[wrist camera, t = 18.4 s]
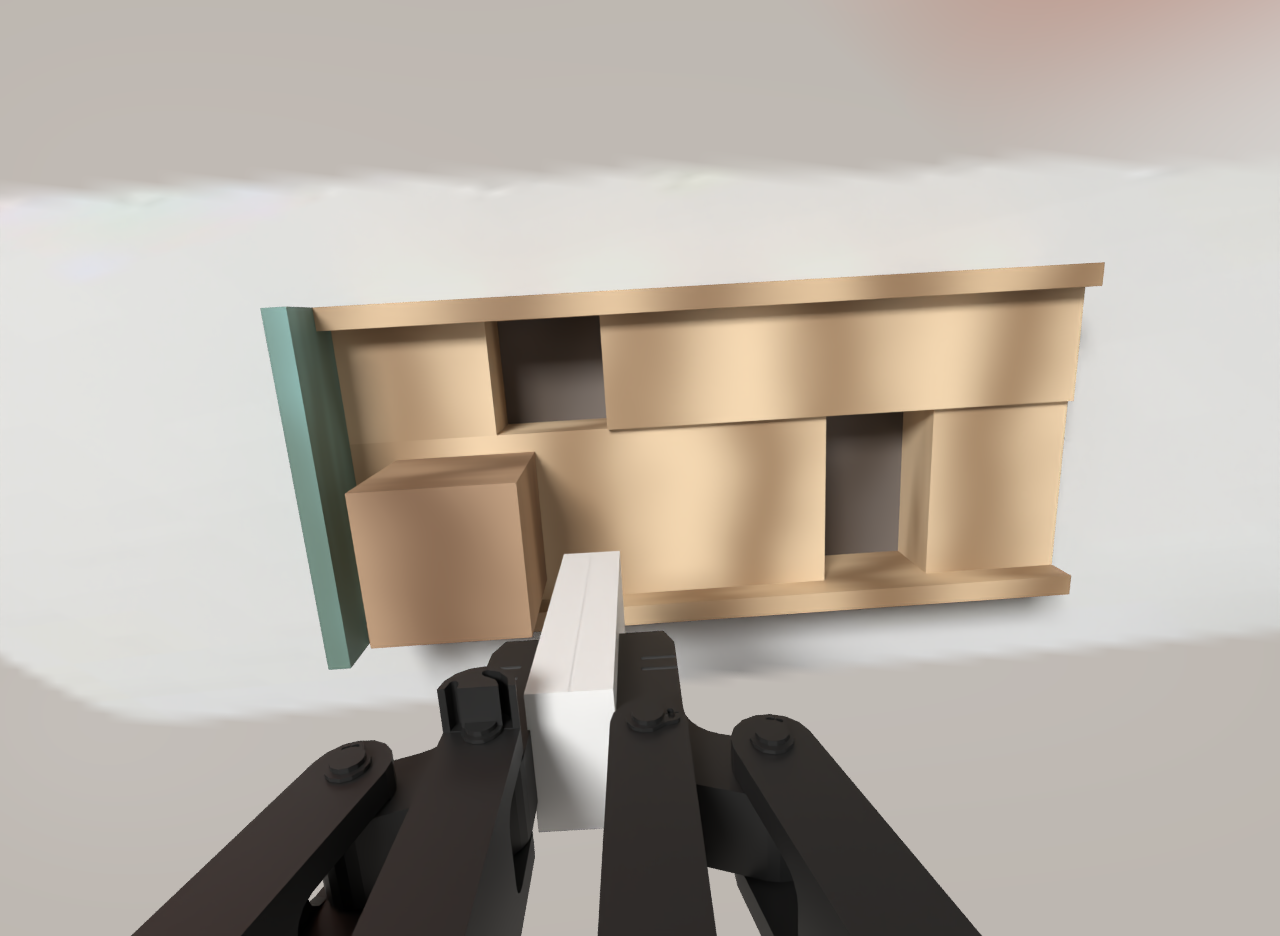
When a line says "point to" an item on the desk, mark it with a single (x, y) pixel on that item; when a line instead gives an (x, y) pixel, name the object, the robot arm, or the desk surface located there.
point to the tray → (713, 433)
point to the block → (449, 549)
